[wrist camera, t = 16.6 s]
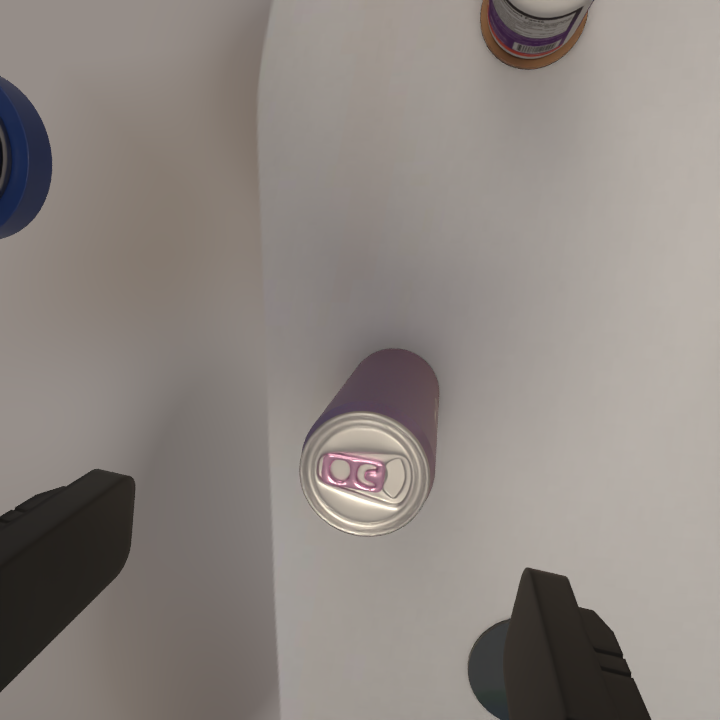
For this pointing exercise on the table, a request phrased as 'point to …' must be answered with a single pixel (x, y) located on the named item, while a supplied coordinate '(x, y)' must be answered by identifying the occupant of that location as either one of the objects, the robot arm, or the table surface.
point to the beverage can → (374, 446)
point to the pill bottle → (534, 24)
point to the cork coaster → (523, 62)
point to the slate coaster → (490, 670)
